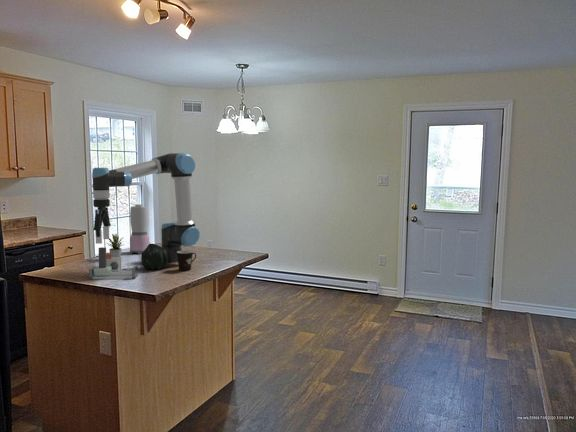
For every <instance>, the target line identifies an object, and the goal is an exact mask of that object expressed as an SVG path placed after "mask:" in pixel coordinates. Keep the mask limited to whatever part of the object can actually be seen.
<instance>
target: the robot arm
mask: <svg viewBox="0 0 576 432" xmlns="http://www.w3.org/2000/svg"><path fill="white" fill-rule="evenodd" d="M195 168H196V162H195V159H194V157H193V156H192V155H191V154H190V153H184V152H179V153H177V152H175V153H174V152H173V153H171V152H170V153H165V154H163V155H159V156H157V157H153V158H152V159H151V160H148V161H147V160H146V161H143V162H139V163H135V164H130V165H127V166H123V167H122V166H121V167H118V168H113V169H109V167H93V168H92V171H91V172H92V174H91V175H92V176H91V177H92V192H91V194H92V198H93V202H92V203H93V204H92V205H93V207H94V208H97V209H95V210H94V213H95V215H94V222H93V223H94V224H93V231H94V233H95V244H98V245H99V244H103V240H109V238H110V227H111V220H110V215H109V208H108V207H110V206H111V201H110V198H111V197H110V194H111V193H110V187H129V186H131V185H132V182H133V180H134V179H138V178H142V177H146V176H149V175H153V174H155V175H160V174H170V175H171V178H172V179H173V180H174V192H175V209H176V221H175V222H164V223H161V224H162V225H161V229H160V231H161V233H160V235H161V247H162V248H163V249H165V250H166V251H167V253H168V256H169V260H168V263H178V257H177V252H178V251H183V249H182V246H184V247H192V246H195V245H196V244H197V242H198V241H199V240H200V236H201V234H200V230H199V229H198V228H197V226H196V222H195V221H194V219H193V213H192V212H193V211H192V199H191V197H192V196H191V184H190V182H191V181H190V179H191V178H192V177H193V173H194V171H195V170H196V169H195ZM102 234H103V235H102Z"/></svg>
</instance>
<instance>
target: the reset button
mask: <svg viewBox="0 0 576 432" xmlns="http://www.w3.org/2000/svg"><path fill="white" fill-rule="evenodd" d="M111 255H112V253H110V252H106V259H111Z"/></svg>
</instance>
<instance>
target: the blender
mask: <svg viewBox="0 0 576 432" xmlns="http://www.w3.org/2000/svg"><path fill="white" fill-rule="evenodd" d="M129 213H130V214H129V217H130V218H129V221H130V228H131V235H130V236H129V253H130V254H131V255H133V253H137V254H138V255H142V253H143V252H144V250H145V249H146V248H147V246H148V245H149V244H150V237H149V234H148V227H149V207H148V206H146V205H144V204H141V203H140V204H139V203H137V204H134V205H132V206H130V212H129Z"/></svg>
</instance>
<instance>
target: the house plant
mask: <svg viewBox="0 0 576 432" xmlns="http://www.w3.org/2000/svg"><path fill="white" fill-rule="evenodd" d="M111 234H112V235H111V236H112V239H111V238H110V237H109V239H108V241H109V243H108V242H105V241H104V243H106V245H107V246H108V247H111V248H109V250H108V251H109V253H112V255H111V257H121V255H122V248H121V247H122V246H123V244H122V243H123V242H122V240H123V237H121V238H120V239H119V236H118V233H115V234H114V233H111Z"/></svg>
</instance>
